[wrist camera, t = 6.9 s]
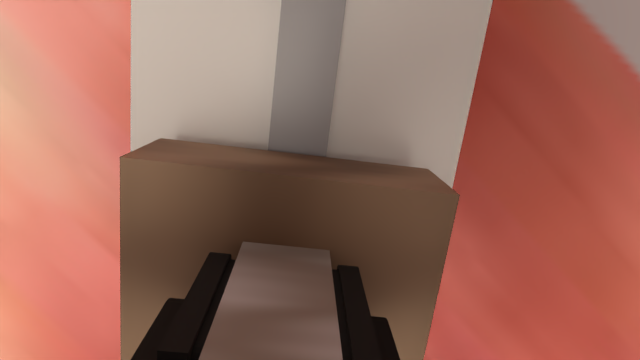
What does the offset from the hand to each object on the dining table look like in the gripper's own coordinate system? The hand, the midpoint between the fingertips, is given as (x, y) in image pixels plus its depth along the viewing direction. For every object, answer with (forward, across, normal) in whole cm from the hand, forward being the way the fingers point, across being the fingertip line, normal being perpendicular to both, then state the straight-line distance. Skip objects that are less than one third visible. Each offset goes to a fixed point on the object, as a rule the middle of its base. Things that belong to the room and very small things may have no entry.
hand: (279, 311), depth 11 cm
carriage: (+4, 0, 0) cm, 4 cm away
